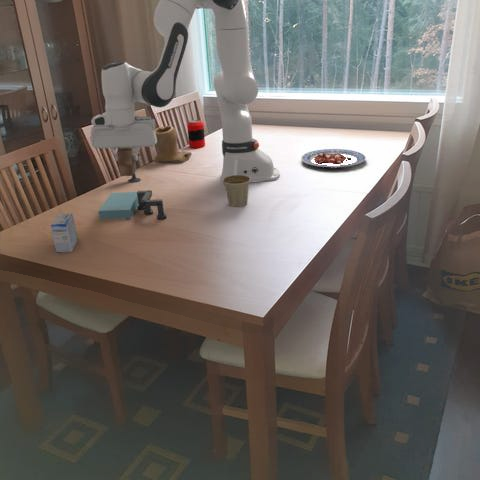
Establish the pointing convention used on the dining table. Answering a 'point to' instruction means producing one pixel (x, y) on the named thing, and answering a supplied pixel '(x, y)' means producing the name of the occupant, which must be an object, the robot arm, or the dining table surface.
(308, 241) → the dining table surface
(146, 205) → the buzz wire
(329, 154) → the ceramic plate
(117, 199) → the platform
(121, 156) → the walnut block
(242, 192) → the flower pot
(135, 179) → the sundae
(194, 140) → the soda can
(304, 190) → the dining table surface
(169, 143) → the tan hollow bent piece
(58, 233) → the medicine box
